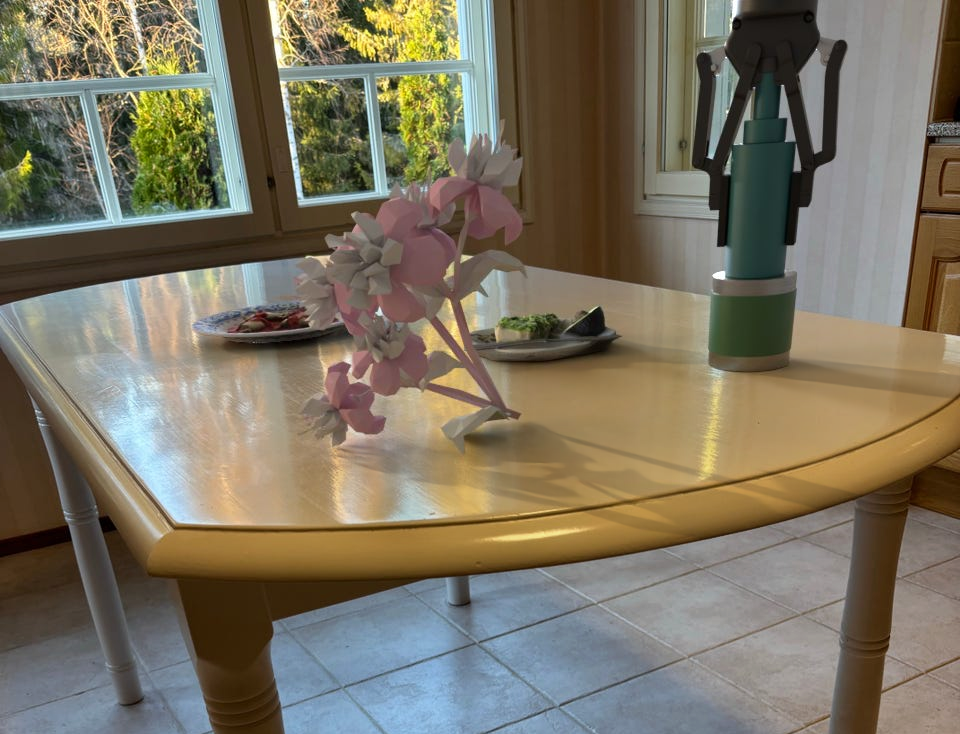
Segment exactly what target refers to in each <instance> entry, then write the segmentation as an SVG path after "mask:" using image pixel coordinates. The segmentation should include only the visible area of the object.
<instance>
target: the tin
mask: <svg viewBox="0 0 960 734" xmlns="http://www.w3.org/2000/svg"><path fill="white" fill-rule="evenodd" d="M724 271H725V270H723V271H719V272H716V273H714V274H712V283H711V284H712V285H711V291H710V301H709V302H710V303H709V320H708V321H709V323H708V324H709V325H708V338H707V339H708V341H707V342H708V343H707V350H708V359H707V364H708V365H709V366H710V367H712V368H714V369H717V370H722V371H726V372H727V371H728V372H740V373H741V372H742V373H751V372H753V373H754V372H766V371H773V370H777V369H781V368H784V367H786V366H787V365H789V363H790V355H791V350H792V344H793V333H794V332H793V331H794V325H795V323H794V322H795V311H796V302H797V292H798V288H797V282H798V281H797V280H798V272H797V271H796V270H794V269H793V270H792V269H786V268H785V273H784V274H783V275H780V276H775V277H767V278H732V277H727V276H725V275H724Z"/></svg>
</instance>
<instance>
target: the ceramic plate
mask: <svg viewBox="0 0 960 734" xmlns="http://www.w3.org/2000/svg"><path fill="white" fill-rule="evenodd" d="M302 301H303V300H296V301H287V302H277V303H268V304H260V305H254V306H248V307H247V306H246V307H240V308H236V309H232V310H231V309H230V310H227V311H222V312H218V313H215V314H211V315H208V316H205V317H203V318H200V319H198V320H196V321H194V322H193V323H192V324H191V326H190V328H191V331H193V332H194V333H196V334H198V335H202V336H206V337H215V338H216V337H217V338H223V339H225V340H228V341H230V342H234V341H236V342H235V343H239V342H248V343H247V344H263V343H262V342H279V343H281V342H280V341H290V342H292V341H291V340H297V341H302V340H301V339H304V340H308V339H307V338H309V339H314V338H313V337H315V338H319V337H323V336H326V335H330V334H332V332H333V333H335V332H336V331H338V330H340V329H343V328H344V327H346V325H345V324H344V322H343V320H342V318H341V315H340V312H339V309H338V310H337V313H336V315H335V318H334V320H333V323H331V324H330V325H329V326H328V327H327V328H325V329H324V330H319V329H313V328H310V326H309V322H310V321H305V320H306V319H307V318H308V317H309V316H310V315H308V314H303V315H302V316H301V317H300V318H298V317H299V313H300V312H305V311H306V310H307V308H306V307H304V306H303V307H301V308H299V305H300V302H302ZM322 335H323V336H322ZM318 336H319V337H318ZM253 342H255V343H253ZM256 342H257V343H256ZM259 342H260V343H259Z"/></svg>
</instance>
